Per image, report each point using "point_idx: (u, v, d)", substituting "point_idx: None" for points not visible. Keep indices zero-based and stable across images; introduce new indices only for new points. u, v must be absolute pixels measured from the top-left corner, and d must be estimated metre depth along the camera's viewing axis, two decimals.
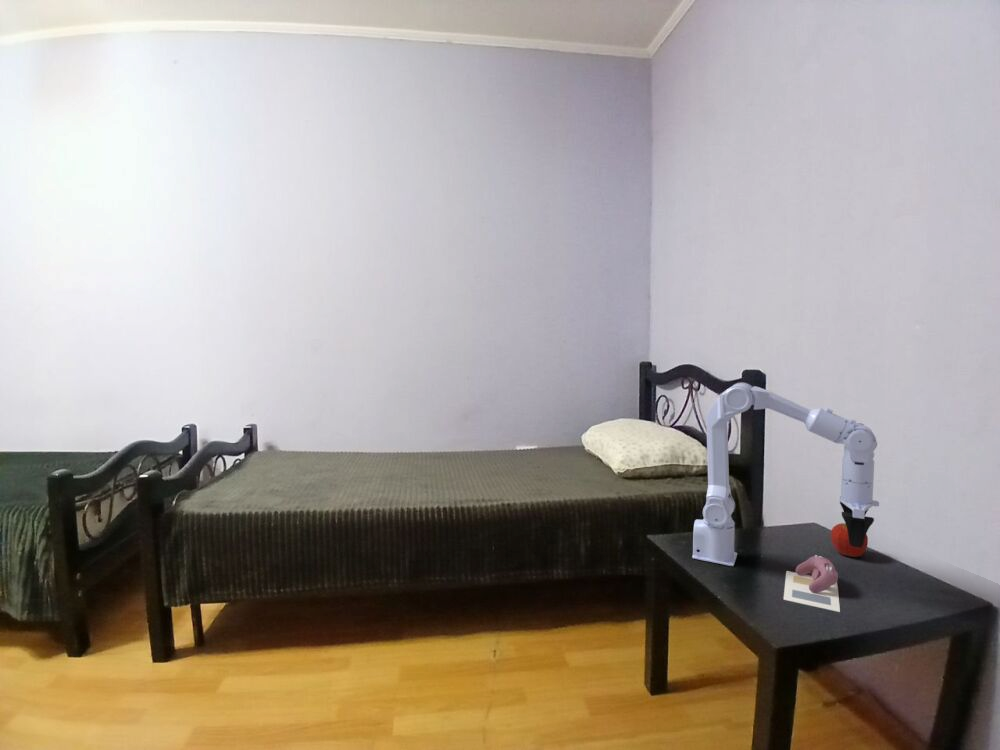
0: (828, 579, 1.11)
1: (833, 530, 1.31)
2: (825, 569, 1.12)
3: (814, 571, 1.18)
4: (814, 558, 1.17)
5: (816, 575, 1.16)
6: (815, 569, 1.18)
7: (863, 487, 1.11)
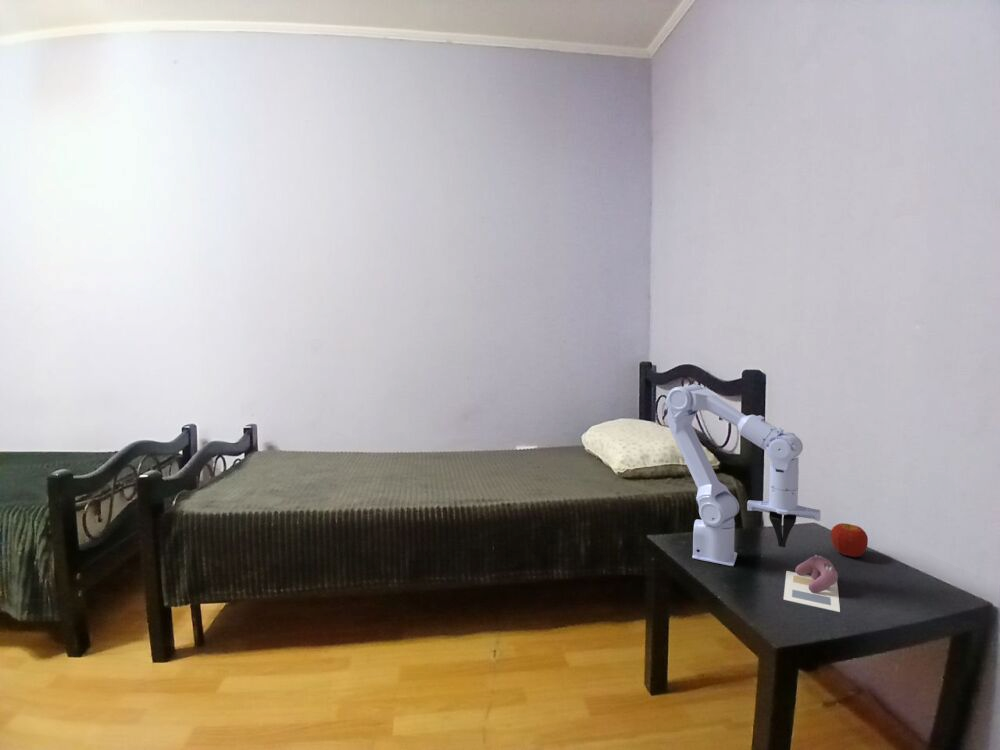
0: (828, 579, 1.11)
1: (833, 530, 1.31)
2: (825, 569, 1.12)
3: (814, 571, 1.18)
4: (814, 558, 1.17)
5: (816, 575, 1.16)
6: (815, 569, 1.18)
7: (769, 490, 1.18)
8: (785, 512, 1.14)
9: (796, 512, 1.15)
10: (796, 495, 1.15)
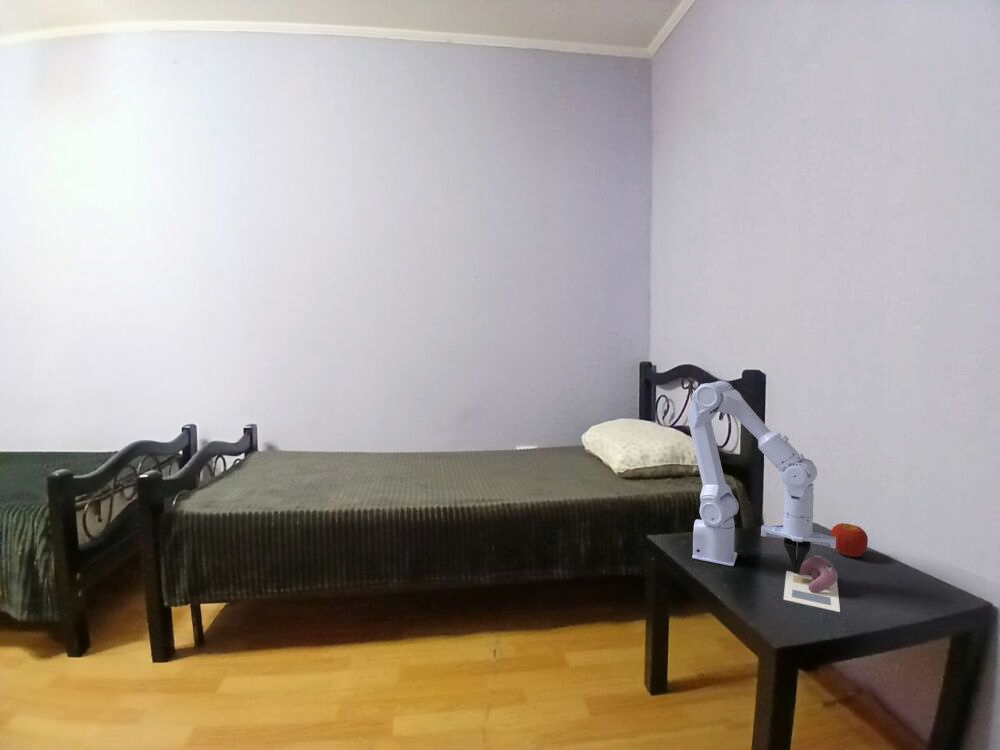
0: (828, 579, 1.11)
1: (833, 530, 1.31)
2: (825, 569, 1.12)
3: (814, 571, 1.18)
4: (814, 558, 1.17)
5: (816, 575, 1.16)
6: (815, 569, 1.18)
7: (784, 516, 1.17)
8: (800, 539, 1.13)
9: (811, 539, 1.13)
10: (811, 522, 1.14)
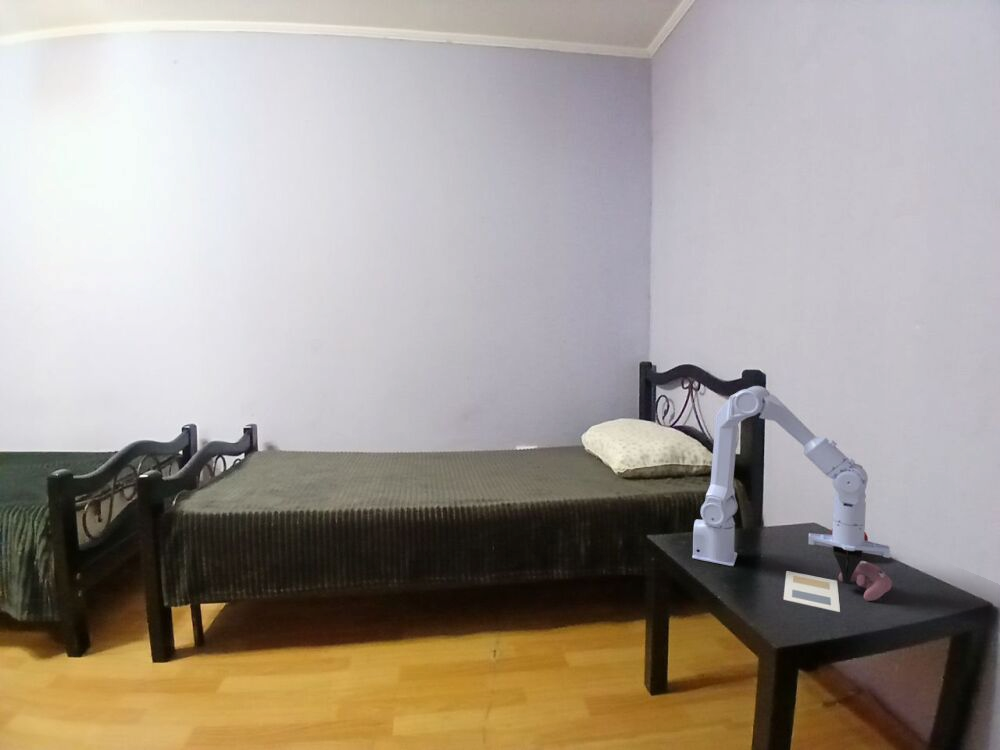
0: (883, 586, 1.07)
1: None
2: (878, 576, 1.09)
3: (859, 577, 1.15)
4: (859, 564, 1.14)
5: (864, 582, 1.13)
6: (860, 575, 1.15)
7: (834, 524, 1.12)
8: (852, 548, 1.08)
9: (864, 548, 1.09)
10: (863, 530, 1.09)
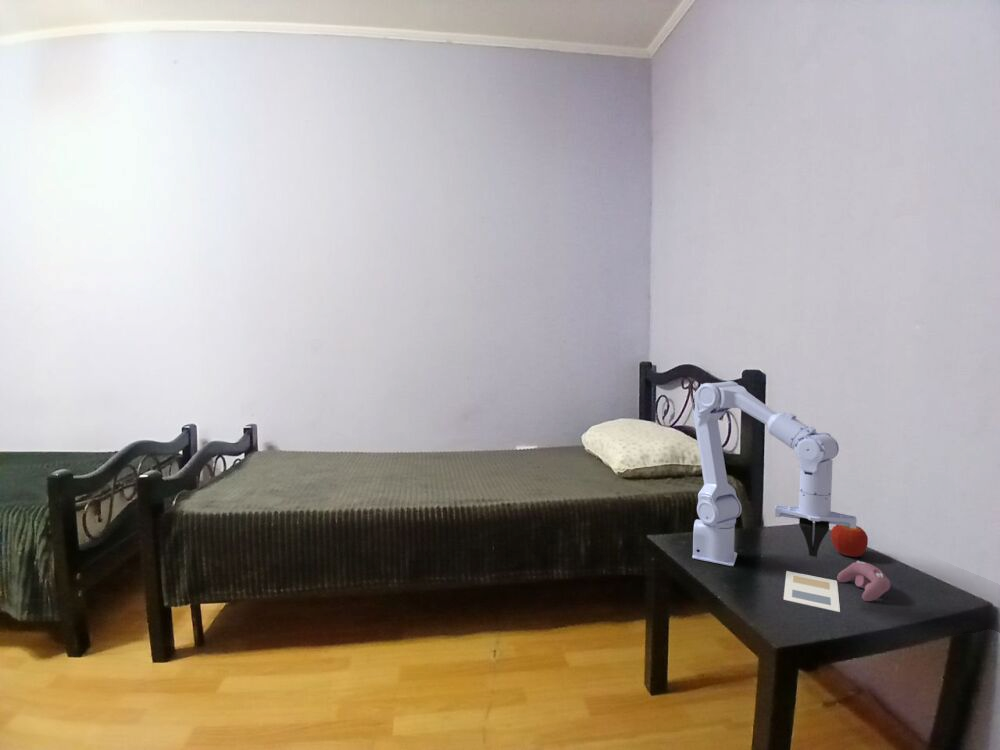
0: (882, 586, 1.07)
1: (833, 530, 1.31)
2: (876, 576, 1.09)
3: (857, 578, 1.15)
4: (858, 564, 1.14)
5: (862, 582, 1.13)
6: (858, 576, 1.15)
7: (800, 494, 1.09)
8: (818, 519, 1.05)
9: (829, 519, 1.05)
10: (829, 500, 1.06)
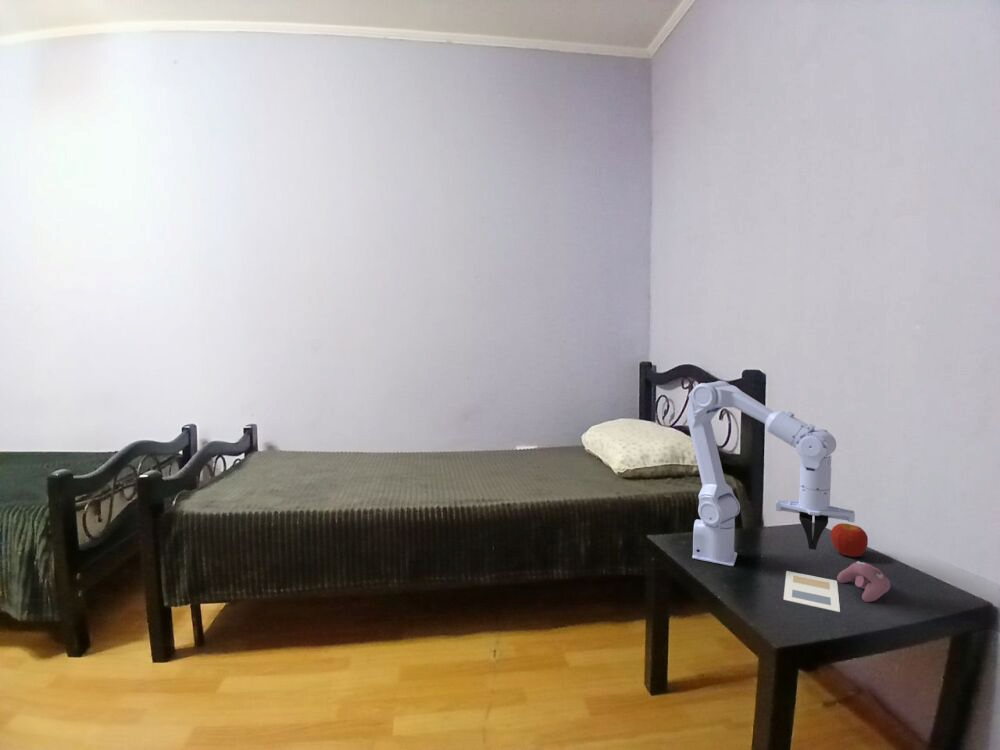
0: (882, 587, 1.07)
1: (833, 530, 1.31)
2: (876, 577, 1.09)
3: (858, 578, 1.14)
4: (858, 565, 1.14)
5: (862, 583, 1.13)
6: (858, 576, 1.14)
7: (800, 489, 1.12)
8: (817, 513, 1.08)
9: (828, 513, 1.09)
10: (828, 495, 1.09)
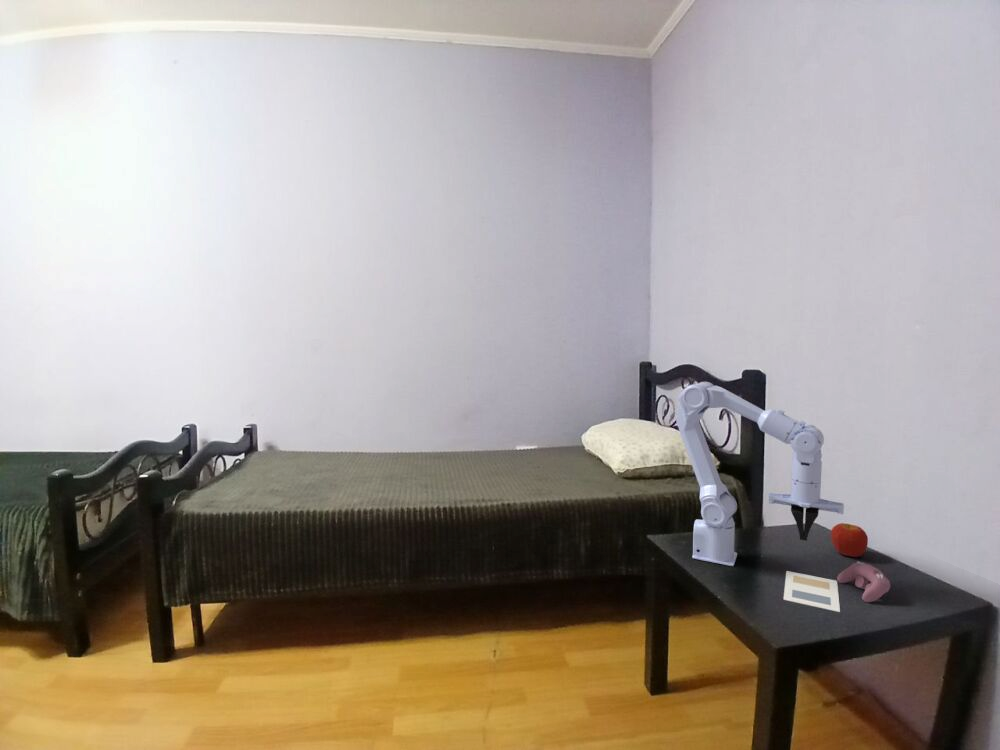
0: (882, 587, 1.07)
1: (833, 530, 1.31)
2: (876, 577, 1.09)
3: (858, 578, 1.14)
4: (858, 565, 1.14)
5: (862, 583, 1.13)
6: (858, 576, 1.14)
7: (792, 483, 1.17)
8: (808, 505, 1.13)
9: (819, 505, 1.14)
10: (819, 488, 1.15)
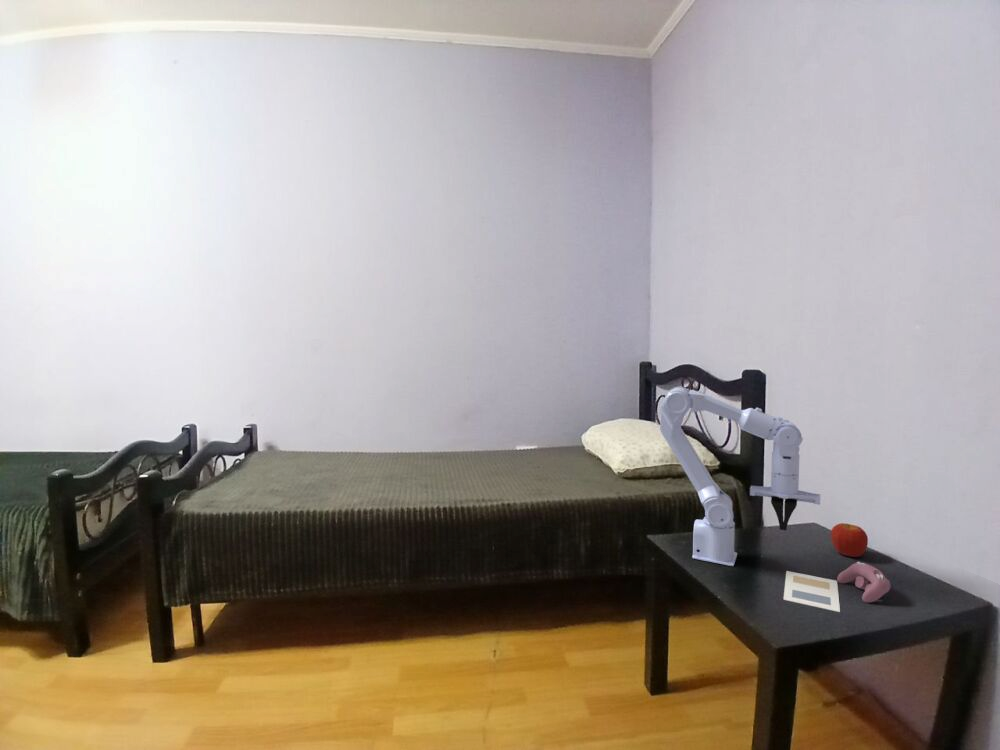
0: (882, 588, 1.07)
1: (833, 530, 1.31)
2: (876, 577, 1.08)
3: (858, 579, 1.14)
4: (858, 565, 1.14)
5: (862, 584, 1.12)
6: (859, 577, 1.14)
7: (771, 475, 1.23)
8: (786, 496, 1.19)
9: (797, 496, 1.20)
10: (797, 480, 1.20)
